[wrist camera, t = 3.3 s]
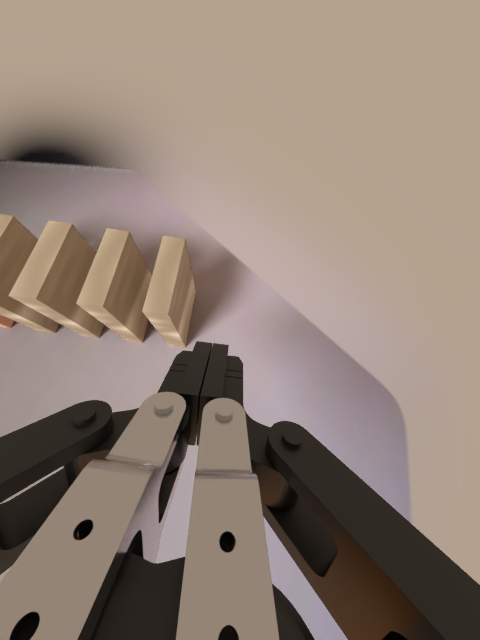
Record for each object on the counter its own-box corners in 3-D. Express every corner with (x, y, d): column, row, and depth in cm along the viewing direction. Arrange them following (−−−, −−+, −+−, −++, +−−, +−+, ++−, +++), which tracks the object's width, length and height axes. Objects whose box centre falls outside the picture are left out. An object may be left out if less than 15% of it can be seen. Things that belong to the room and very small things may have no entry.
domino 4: (168, 345, 22) (142, 311, 14) (180, 290, 24) (163, 235, 16) (185, 347, 22) (167, 314, 14) (196, 292, 24) (185, 238, 16)
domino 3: (125, 340, 21) (76, 303, 14) (141, 285, 24) (106, 228, 16) (143, 342, 21) (102, 306, 14) (157, 287, 24) (129, 231, 16)
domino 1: (37, 331, 21) (-61, 287, 14) (62, 275, 23) (-11, 212, 16) (55, 333, 21) (-34, 290, 14) (78, 277, 23) (13, 215, 16)
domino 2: (82, 335, 21) (8, 295, 14) (102, 280, 23) (48, 220, 16) (99, 337, 21) (35, 298, 14) (118, 282, 24) (72, 223, 16)
